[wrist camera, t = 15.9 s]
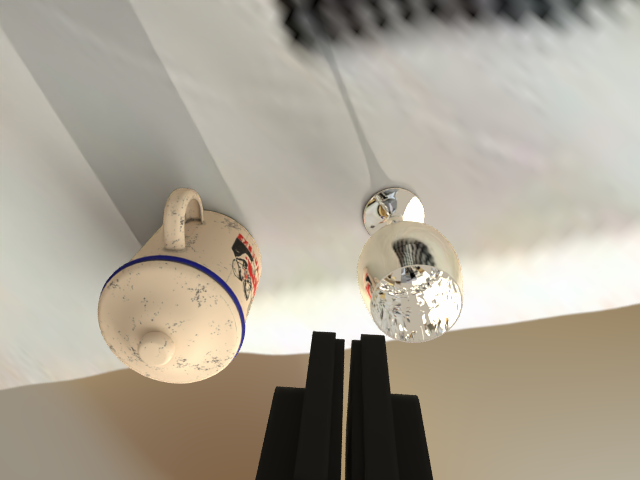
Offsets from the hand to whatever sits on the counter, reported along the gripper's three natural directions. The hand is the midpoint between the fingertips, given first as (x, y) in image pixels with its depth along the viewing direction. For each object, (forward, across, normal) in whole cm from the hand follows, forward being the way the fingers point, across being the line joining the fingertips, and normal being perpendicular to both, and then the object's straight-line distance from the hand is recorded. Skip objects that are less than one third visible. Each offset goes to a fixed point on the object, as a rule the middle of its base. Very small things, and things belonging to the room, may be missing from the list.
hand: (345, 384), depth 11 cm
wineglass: (+24, -3, +5) cm, 25 cm away
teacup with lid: (+24, +11, +8) cm, 27 cm away
